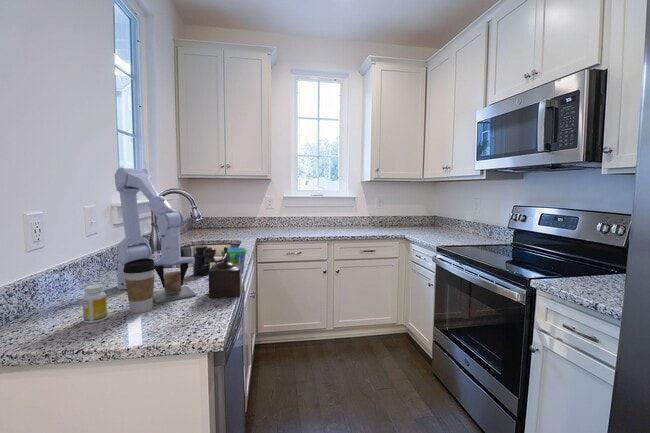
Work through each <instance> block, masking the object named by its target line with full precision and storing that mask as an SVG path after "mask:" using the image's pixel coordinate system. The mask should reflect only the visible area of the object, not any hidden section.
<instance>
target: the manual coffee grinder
mask: <svg viewBox="0 0 650 433" xmlns="http://www.w3.org/2000/svg"><path fill="white" fill-rule="evenodd" d="M223 249H224V256H222V258H221V259H215V255H216V254H217V250H216V248H214V247H207V249H205V250H204V251H203V253H204V255H205V256H206V258H207V259H206V262H208V263H210V264H212V263H215V264H213V265H212V266H210V270H209V272H208V298H209V299H231V298H233V299H234V298H240V296H241V295H242V291H243V290H242V288H243V286H242V283H243V281H242V280H243V279H242V277H243V275H242V273H243V272H242V269H241V266H242V264H234V263H231V262H228V261H227V253H228V251H227V250H228V247H227V246H224V247H223Z"/></svg>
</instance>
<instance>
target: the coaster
mask: <svg viewBox="0 0 650 433" xmlns="http://www.w3.org/2000/svg"><path fill="white" fill-rule="evenodd" d="M194 297H197V294H196V293H195V292H194V291H193V290H192V289H191V288H190V287H189V286H187V285H184V286H181V292H173V293H166V294H165V289H161V290H156V291H154V290H153V301H155V303H156V304H157V305H159V304H164V303H169V302H174V301H178V300H184V299H190V298H194Z"/></svg>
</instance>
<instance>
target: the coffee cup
mask: <svg viewBox="0 0 650 433" xmlns="http://www.w3.org/2000/svg"><path fill="white" fill-rule="evenodd" d="M154 261H155V260H154V259H153V258H151V257H150V258H144V259H137V260H134V261H130V262H127V263H125V264H124V269H123V272H124V273H125V277H126V278H125V282H126V288H127V289H126V295H127V300H128V307H129V312H130V313H133V314H141V313H146V312H150V311H151V310H152V309H153V306H154V302H153V301H154V298H153V292H154V287H155V286H154V285H155V273H154V272H155V265H154Z"/></svg>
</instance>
